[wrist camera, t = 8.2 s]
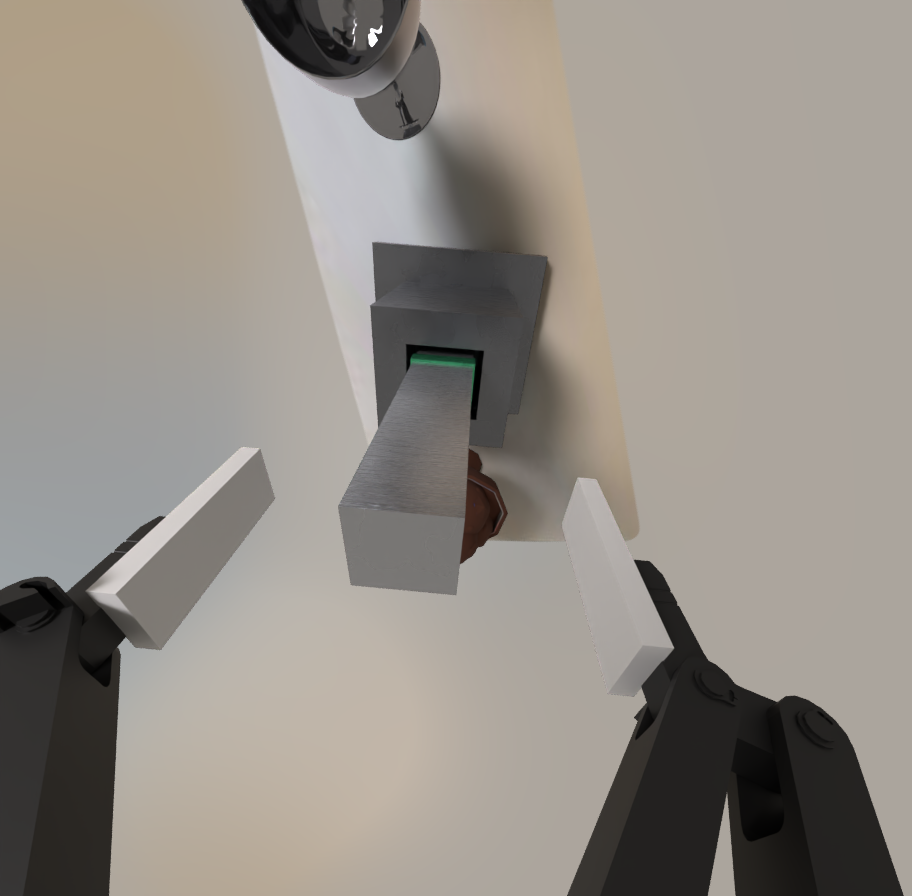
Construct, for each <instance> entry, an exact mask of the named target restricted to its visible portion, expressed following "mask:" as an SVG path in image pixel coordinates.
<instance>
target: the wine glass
mask: <svg viewBox="0 0 912 896" xmlns="http://www.w3.org/2000/svg"><path fill="white" fill-rule="evenodd" d="M242 2H243V4H244V6H245V8H246V10H247V11H248V13H249V15H250V17H251V18H252V20H253V22H254V23H255V25H256V26H257V27H258V29H259V30H260V32H261V33H262V34H263V36H264V37H265V38H266V40H267V41H268V42H269V43H270V44H271V45H272V46H273V47H274V48H275V49H276V50H277V51H278V52H279V53H280V54H281V56H282V57H283V58H284V59H285V60H287V61H288V62H289V63H290V64H291V65H292V66H293V67H294V68H296V69H297V70H298V71H300V72H301V73H302V74H304V75H305V76H306V77H308V78H309V79H310V80H312V81H313V82H315V83H316V84H317V85H319V86H321V87H323V88H325V89H327V90H329V91H331V92H333V93H336V94H338V95H342V96H346V97H350V98H354V101H355V104H356V106H357V108H358V110H359V112H360V114H361V116H362V117H363V118H364V120H365V121H366V123H367V124H368V125H369V126H370V127H371V128H372V129H373V130H375V131H376V132H377V133H379V134H380V135H382V136H384V137H387V138H390V139H406V138H409V137H411V136H413V135H415V134H417V133H418V132H419V131H420V130H422V129H423V127H424V126H425V125H426V124H427V123H428V121H429V119H430V118H431V116H432V114H433V112H434V109H435V107H436V104H437V100H438V96H439V88H440V70H439V62H438V58H437V54H436V50H435V47H434V45H433V42H432V40H431V38H430V36H429V34H428V32H427V31H426V29H425V28H424V26H423V25H422V24H421V23H420V10H421V0H242Z"/></svg>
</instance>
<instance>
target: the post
mask: <svg viewBox="0 0 912 896" xmlns="http://www.w3.org/2000/svg"><path fill="white" fill-rule="evenodd" d="M473 352H474V350H471V349H459V348H447V347H436V346H424V345H421V346H420V348H419V350H418V352H417V354H416V353H413V355H412V357H411V366H410V368H409V370H408V371H407V373H406V375H405V377H404V379H403V381H402V383H401V385H400V387H399V389H398V391H397V393H396V395H395V397H394V399H393V401H392V403H391V405H390V406H389V408H388V410H387V412H386V414H385V416H384V418H383V420H382V422H381V424H380V426H379V428H378V430H377V432H376V434H375V436H374V438H373V440H372V442H371V443H370V445H369V447H368V449H367V451H366V453H365V455H364V457H363V460H362V461H361V463H360V465H359V467H358V469H357V471H356V473H355V475H354V477H353V479H352V480H351V482H350V484H349V486H348V488H347V490H346V492H345V494H344V496H343V498H342V500H341V502H340V504H339V506H338V509H339V514H340V521H341V527H342V533H343V539H344V545H345V552H346V558H347V564H348V570H349V577H350V583H351V585H355V586H366V587H376V588H386V589H398V590H408V591H418V592H428V593H439V594H450V595H456V593H457V584H458V575H459V566H460V558H461V549H462V540H463V531H464V523H465V508H466V489H467V469H468V450H469V430H470V411H471V401H472V391H473V382H474V372H475V359H474V358H473Z"/></svg>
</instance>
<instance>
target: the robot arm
mask: <svg viewBox="0 0 912 896" xmlns="http://www.w3.org/2000/svg"><path fill="white" fill-rule="evenodd" d="M274 499H275V497H274V493H273V490H272V487H271V483H270V480H269V477H268V473H267V470H266V467H265V463H264V460H263V457H262V453H261V450H260V449H258V448H248V447H241V448H240V449H239V450H238V451H237V452H236V453H235V454H234V455H233V456H231V457H230V458H229V459H228V460H227V461H226V462H225V463H224V464H223V465H222V466H221V467H219V468H218V469H217V470H216V471H215V472H214V473H213V474H212V475H211V476H210V477H209V478H208V479H206V480H205V481H204V482H203V483H202V484H201V485H200V486H199V487H198V488H197V489H196V490H195V491H193V492H192V493H191V494H190V495H189V496H188V497H187V498H186V499H185V500H184V501H183V502H182V503H181V504H179V505H178V506H177V507H176V508H175V509H174V510H173V511H172V512H171V513H170V514H169V515H167V516H166V517H162V516H159V517H157V518H155V519H154V520H152V521H150V522H148V523H147V524H145V525H143V526H141V527H140V528H139V529H138V530H137V531H136V532H134V533H133V534H132V535H131V536H130V537H129V538H128V539H127V541H126V542H123V543H122V544H121V545H120V546H119V547H117V549H115V551H114V553H111V554H110V555H108V556H107V557H106V558H105V559H104V560H103V561H102V562H100V563H99V564H98V565H97V566H96V567H95V568H94V569H92V570H91V571H90V572H89V573H88V574H87V575H86V576H85V577H83V578H82V579H81V580H80V581H79V582H78V583H77V584H75V585H74V586H73V587H72V588H71V589H70V590H69V591H68V592H66V593H65V592H64V591H63V590H62V588H61V587H60V586H59V585H58V584H57V583H56V582H55V581H54V580H52V579H50V578H48V577H34V578H30V579H25V580H22V581H19V582H17V583H14V584H12V585H10V586H7V587H5V588H4V589H2V590H0V896H109V883H110V882H109V880H110V863H111V842H112V841H111V840H112V820H113V799H114V781H115V760H116V739H117V719H118V699H119V679H120V678H119V677H120V658H121V655H120V651H119V649H118V648H117V647H118V645H119V644H120V643H121V642H122V641H123V639H124V638H125V637H126V638H127V639H128V640H129V641H130V642H131V643H132V644H133V645H134V647H136V648H146V649H156V650H161V649H162V648H163V646H164V645H165V644H166V642H167V641H168V640H169V638H170V637H171V636H172V634H173V633H174V632H175V630H176V629H177V628H178V626H179V625H180V624H181V623H182V621H183V620H184V619H185V617H186V616H187V615H188V613H189V612H190V611H191V609H192V608H193V607H194V605H195V604H196V603H197V601H198V600H199V599H200V597H201V596H202V595H203V593H204V592H205V591H206V589H207V588H208V587H209V585H210V584H211V583H212V581H213V580H214V579H215V578H216V576H217V575H218V574H219V572H220V571H221V570H222V568H223V567H224V566H225V564H226V563H227V562H228V560H229V559H230V557H231V556H232V555H233V554H234V552H235V551H236V550H237V548H238V547H239V546H240V545H241V543H242V542H243V541H244V539H245V538H246V537H247V535H248V534H249V532H250V531H251V530H252V529H253V527H254V526H255V524H256V523H257V522H258V521H259V519H260V518H261V517H262V515H263V514H264V513H265V511H266V510H267V509H268V507H269V506H270V505H271V503H272V502H273V501H274ZM562 529H563V533H564V536H565V540H566V544H567V547H568V551H569V554H570V558H571V562H572V566H573V569H574V573H575V577H576V581H577V584H578V588H579V592H580V595H581V599H582V602H583V606H584V610H585V613H586V617H587V621H588V624H589V628H590V632H591V635H592V639H593V643H594V647H595V650H596V654H597V658H598V661H599V665H600V668H601V672H602V676H603V680H604V683H605V687H606V690H607V694H611V695H622V696H632V697H634V696H635V695H636V694H637V692H638V691H639V690H640V689H641V688H642V690H643V693H644V695H645V698H646V701H647V703H646V704H645V705H644V706H643V708H642V709H641V710H640V711H639V712H638V713H637V715H636V716H635V717H634V718H635V719H636V720H637V721H638V722H637V724H636V727H635V729H634V732H633V734H632V737H631V739H630V742H629V744H628V747H627V749H626V752H625V754H624V756H623V759H622V761H621V764H620V766H619V769H618V772H617V774H616V776H615V779H614V781H613V784H612V786H611V789H610V791H609V794H608V796H607V798H606V801H605V803H604V806H603V809H602V811H601V813H600V816H599V818H598V821H597V823H596V826H595V828H594V831H593V833H592V836H591V838H590V841H589V843H588V846H587V848H586V850H585V853H584V855H583V858H582V860H581V863H580V865H579V868H578V870H577V873H576V875H575V878H574V880H573V883H572V885H571V887H570V890H569V892H568V895H567V896H708V891H709V885H710V880H711V875H712V869H713V864H714V859H715V853H716V848H717V842H718V837H719V831H720V826H721V821H722V815H723V810H724V804H725V799H726V794H728V808H729V819H730V831H731V844H732V857H733V869H734V881H735V894H736V896H904V895H903V892H902V889H901V886H900V884H899V881H898V878H897V875H896V872H895V869H894V866H893V863H892V861H891V857H890V854H889V851H888V848H887V845H886V842H885V839H884V836H883V833H882V830H881V827H880V825H879V821H878V818H877V816H876V813H875V810H874V807H873V804H872V801H871V798H870V795H869V792H868V789H867V786H866V783H865V780H864V777H863V774H862V771H861V769H860V765H859V762H858V759H857V757H856V753H855V751H854V748H853V746H852V744H851V742H850V740H849V738H848V736H847V734H846V733H845V732H844V731H843V729H842V728H841V727H840V726H839V725H838V723H837V722H836V721H835V720H834V719H833V718H832V717H831V716H829V715H828V714H827V713H826V712H825V711H824V710H823V709H822V708H820V707H818V706H816V705H815V704H814V703H812V702H810V701H809V700H806V699H803V698H800V697H798V696H786V697H784V698H783V699H781V700H780V701H779V702H775V701H773V700H771V699H768V698H766V697H763V696H761V695H758V694H756V693H754V692H751V691H749V690H746V689H744V688H742V687H740V686H738V685H736V684H735V683H734V682H733V681H732V679H731V678H730V677H729V676H728V674H726V673H725V672H724V671H723V670H722V669H720V668H719V667H718V666H717V665H716V664H714V663H712V662H710V661H708V659H707V658H706V656H705V654H704V653H703V651H702V649H701V647H700V645H699V643H698V641H697V640H696V638H695V636H694V634H693V632H692V630H691V628H690V626H689V624H688V622H687V621H686V619H685V617H684V615H683V613H682V611H681V609H680V607H679V606H677V601H676V600H675V598H674V596H673V594H672V593H671V592H670V588H669V586H668V584H667V582H666V580H665V578H664V577H663V575H662V574H661V573H660V572H659V571H658V570H657V568H656V567H655V566H654V565H653V564H652V563H651V562H650V561H641V560H633V558H632V556H631V553H630V551H629V549H628V547H627V545H626V543H625V540H624V538H623V536H622V534H621V532H620V529H619V527H618V525H617V523H616V521H615V519H614V516H613V514H612V512H611V510H610V508H609V506H608V503H607V501H606V499H605V497H604V495H603V493H602V490H601V488H600V486H599V484H598V482H597V479H590V478H579V477H578V478H577V480H576V483H575V486H574V489H573V492H572V495H571V498H570V501H569V504H568V507H567V510H566V513H565V516H564V519H563V522H562Z"/></svg>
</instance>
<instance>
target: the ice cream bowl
mask: <svg viewBox="0 0 912 896" xmlns="http://www.w3.org/2000/svg"><path fill="white" fill-rule="evenodd" d="M481 466H482V463H481V460H480V458H479V456H478V454H477V453H475V452H473V451H472V450H470V449H469V450H468V469H467V489H466V508H465V523H464V531H463V540H462V549H461V558H460V564H461V563H463V562H464V561H465V560H467V559H468V558H470V557H472V556H473V554H474V553H475V551H476V549H477V548H478V547H482V546H483V545H484V544H485V543H486V541H487V540H488V539H489V538H491V537H493V536H495V535H497V534H498V533H499V531H500V529H501V527H502V524H503V522H504V520H505V518H506V516H507V514H508V513H507V510H506V507H505V505H504V502H503V500H502V497H501V495H500V492H499V490H498V487H497V485H496V483H495V482H494V481H493V480H492V479H491V478H489V477H488V476H486V475H484V474H482V473H481V472H479V471H480V468H481Z"/></svg>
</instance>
